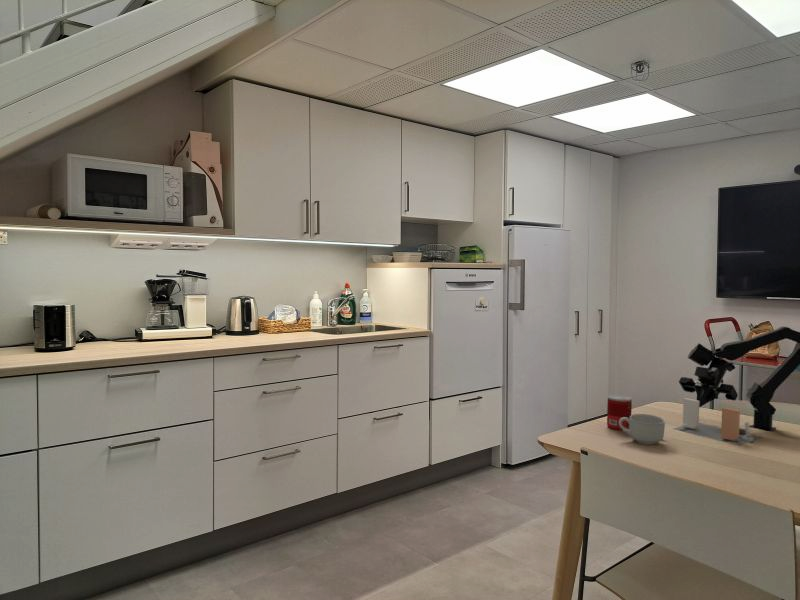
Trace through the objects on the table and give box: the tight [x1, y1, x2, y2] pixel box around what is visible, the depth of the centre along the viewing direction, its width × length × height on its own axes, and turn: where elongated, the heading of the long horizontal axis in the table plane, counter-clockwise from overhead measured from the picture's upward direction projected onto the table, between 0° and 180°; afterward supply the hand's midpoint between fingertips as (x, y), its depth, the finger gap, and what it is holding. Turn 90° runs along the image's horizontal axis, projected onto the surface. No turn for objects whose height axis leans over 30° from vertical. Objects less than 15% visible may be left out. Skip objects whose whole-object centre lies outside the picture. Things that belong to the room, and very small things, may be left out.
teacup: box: [619, 413, 666, 446], centre depth 185 cm, size 14×11×8 cm
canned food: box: [606, 394, 633, 431], centre depth 201 cm, size 8×8×11 cm
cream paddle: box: [682, 397, 700, 429], centre depth 198 cm, size 3×5×10 cm, turn 34°
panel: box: [672, 421, 764, 446], centre depth 192 cm, size 16×22×7 cm
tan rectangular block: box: [720, 407, 741, 441], centre depth 185 cm, size 3×5×10 cm, turn 34°
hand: (697, 406), depth 200 cm, fingers closed
